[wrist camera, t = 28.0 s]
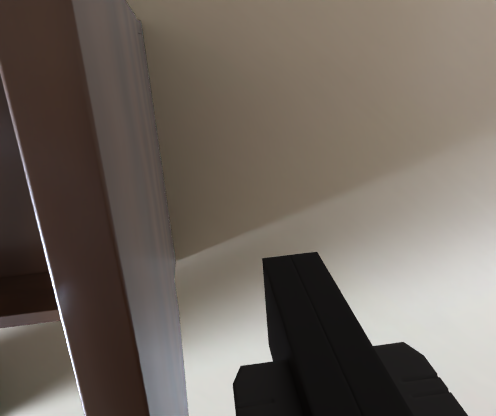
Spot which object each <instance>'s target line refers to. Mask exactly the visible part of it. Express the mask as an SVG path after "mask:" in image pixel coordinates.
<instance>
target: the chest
mask: <svg viewBox="0 0 496 416" xmlns="http://www.w3.org/2000/svg"><path fill="white" fill-rule="evenodd" d="M136 23H137V29H138V36H139V43H140V50H141V57H142V63H143V70H144V77H145V84H146V90H147V97H148V104H149V111H150V118H151V124H152V131H153V138H154V145H155V151H156V158H157V165H158V172H159V179H160V185H161V192H162V199H163V206H164V212H165V219H166V226H167V233H168V240H169V246H170V253H171V260H172V267H173V273H174V278H175V264H176V260H175V253H174V246H173V239H172V232H171V225H170V218H169V212H168V205H167V198H166V191H165V184H164V177H163V170H162V163H161V156H160V149H159V142H158V135H157V128H156V122H155V115H154V108H153V101H152V94H151V87H150V80H149V73H148V66H147V59H146V52H145V45H144V38H143V31H142V25H141V21H140V20H137V19H136ZM54 321H61V317H60V313H59V309H58V305H57V301H56V297H55V293H54V289H53V285H52V281H51V277H50V273H49V269H48V265H47V261H46V257H45V252H44V248H43V244H42V240H41V236H40V232H39V228H38V224H37V220H36V216H35V212H34V208H33V204H32V200H31V196H30V192H29V188H28V184H27V180H26V175H25V171H24V167H23V163H22V159H21V155H20V151H19V147H18V143H17V139H16V135H15V131H14V127H13V123H12V119H11V115H10V111H9V107H8V102H7V98H6V94H5V90H4V86H3V82H2V78H1V74H0V328H7V327H14V326H22V325H30V324H38V323H46V322H54Z"/></svg>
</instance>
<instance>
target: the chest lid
mask: <svg viewBox="0 0 496 416" xmlns="http://www.w3.org/2000/svg"><path fill="white" fill-rule="evenodd" d="M0 74H1V78H2V82H3V86H4V90H5V94H6V98H7V102H8V107H9V111H10V115H11V119H12V123H13V127H14V131H15V135H16V139H17V143H18V147H19V151H20V155H21V159H22V163H23V167H24V171H25V175H26V180H27V184H28V188H29V192H30V196H31V200H32V204H33V208H34V212H35V216H36V220H37V224H38V228H39V232H40V236H41V240H42V244H43V248H44V252H45V257H46V261H47V265H48V269H49V273H50V277H51V281H52V285H53V289H54V293H55V297H56V301H57V305H58V309H59V313H60V317H61V321H62V325H63V330H64V334H65V338H66V342H67V346H68V350H69V354H70V358H71V362H72V366H73V370H74V374H75V378H76V382H77V386H78V390H79V394H80V398H81V402H82V407H83V411H84V415H85V416H189V414H188V403H187V393H186V382H185V371H184V360H183V349H182V339H181V328H180V317H179V307H178V301H177V294H176V287H175V280H174V273H173V267H172V260H171V253H170V246H169V240H168V233H167V226H166V219H165V212H164V206H163V199H162V192H161V185H160V179H159V172H158V165H157V158H156V151H155V145H154V138H153V131H152V124H151V118H150V111H149V104H148V97H147V90H146V84H145V77H144V70H143V63H142V57H141V50H140V43H139V36H138V29H137V23H136V16H135V14H134V12H133V11H132V9H131V8H130V6H129V5H128V3H127V2H126V0H0Z"/></svg>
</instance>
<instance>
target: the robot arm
mask: <svg viewBox="0 0 496 416" xmlns="http://www.w3.org/2000/svg"><path fill="white" fill-rule="evenodd" d="M262 262H263V275H264V288H265V301H266V314H267V327H268V340H269V347H270V351H271V355H272V359H273V362H267V363H260V364H252V365H245V366H240V369H239V371H238V373H237V376H236V378H235V380H234V383H233V391H234V400H235V409H236V416H468V415H467V414H466V412H465V411H464V410H463V408H462V407H461V406H460V404H459V403H458V401H457V400H456V399H455V397H454V396H453V395H452V393H451V392H450V393H449V391H448V388H447V386H446V385H445V384H444V382H443V381H442V380H441V378H440V377H438V376H437V373H436V371H435V370H434V369H433V367H432V366H431V365H430V363H429V362H428V361H427V359H426V358H425V356H424V355H422V354H421V353H419V352H418V351H416V350H415V349H413V348H412V347H410V346H409V345H407V344H406V343H404V342H400V343H393V344H386V345H378V346H372V344H371V342H370V341H369V339H368V337H367V336H366V334H365V332H364V330H363V329H362V327H361V325H360V324H359V322H358V320H357V319H356V317H355V315H354V314H353V312H352V310H351V308H350V307H349V305H348V303H347V302H346V300H345V298H344V297H343V295H342V293H341V291H340V290H339V288H338V286H337V285H336V283H335V281H334V280H333V278H332V276H331V275H330V273H329V271H328V269H327V268H326V266H325V264H324V263H323V261H322V259H321V258H320V256H319V254H318V253H317V252H311V253H302V254H294V255H286V256H278V257H269V258H262Z"/></svg>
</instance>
